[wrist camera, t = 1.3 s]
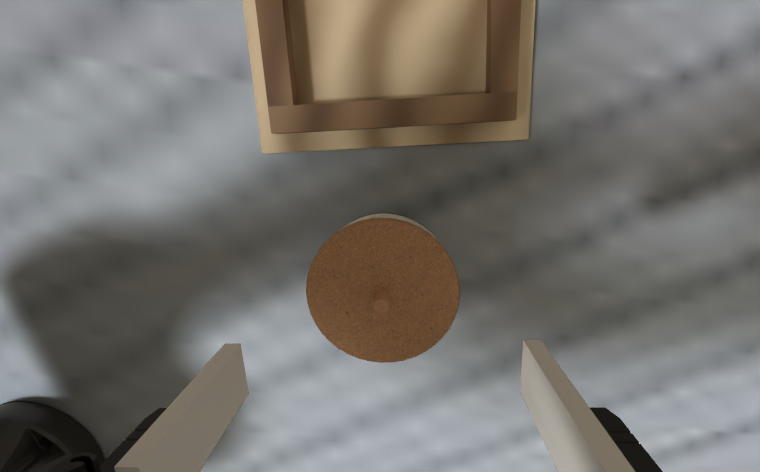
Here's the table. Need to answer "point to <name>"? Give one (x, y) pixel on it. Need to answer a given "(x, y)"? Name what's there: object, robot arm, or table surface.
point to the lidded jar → (383, 289)
